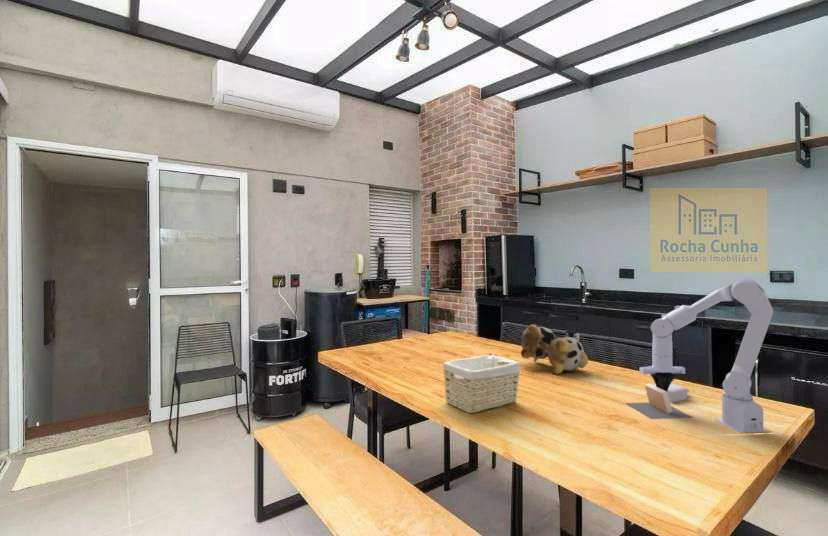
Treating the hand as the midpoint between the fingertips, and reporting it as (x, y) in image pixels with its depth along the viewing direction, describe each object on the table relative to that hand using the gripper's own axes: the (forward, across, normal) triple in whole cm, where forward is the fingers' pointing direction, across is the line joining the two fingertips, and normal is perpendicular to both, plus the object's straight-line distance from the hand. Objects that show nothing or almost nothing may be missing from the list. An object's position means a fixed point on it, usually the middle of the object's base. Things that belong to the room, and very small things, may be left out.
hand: (662, 395), depth 133 cm
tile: (+4, 0, 0) cm, 4 cm away
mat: (+5, +2, +1) cm, 6 cm away
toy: (+5, +15, -55) cm, 57 cm away
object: (+5, +58, -11) cm, 60 cm away
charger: (+5, -12, -12) cm, 18 cm away
